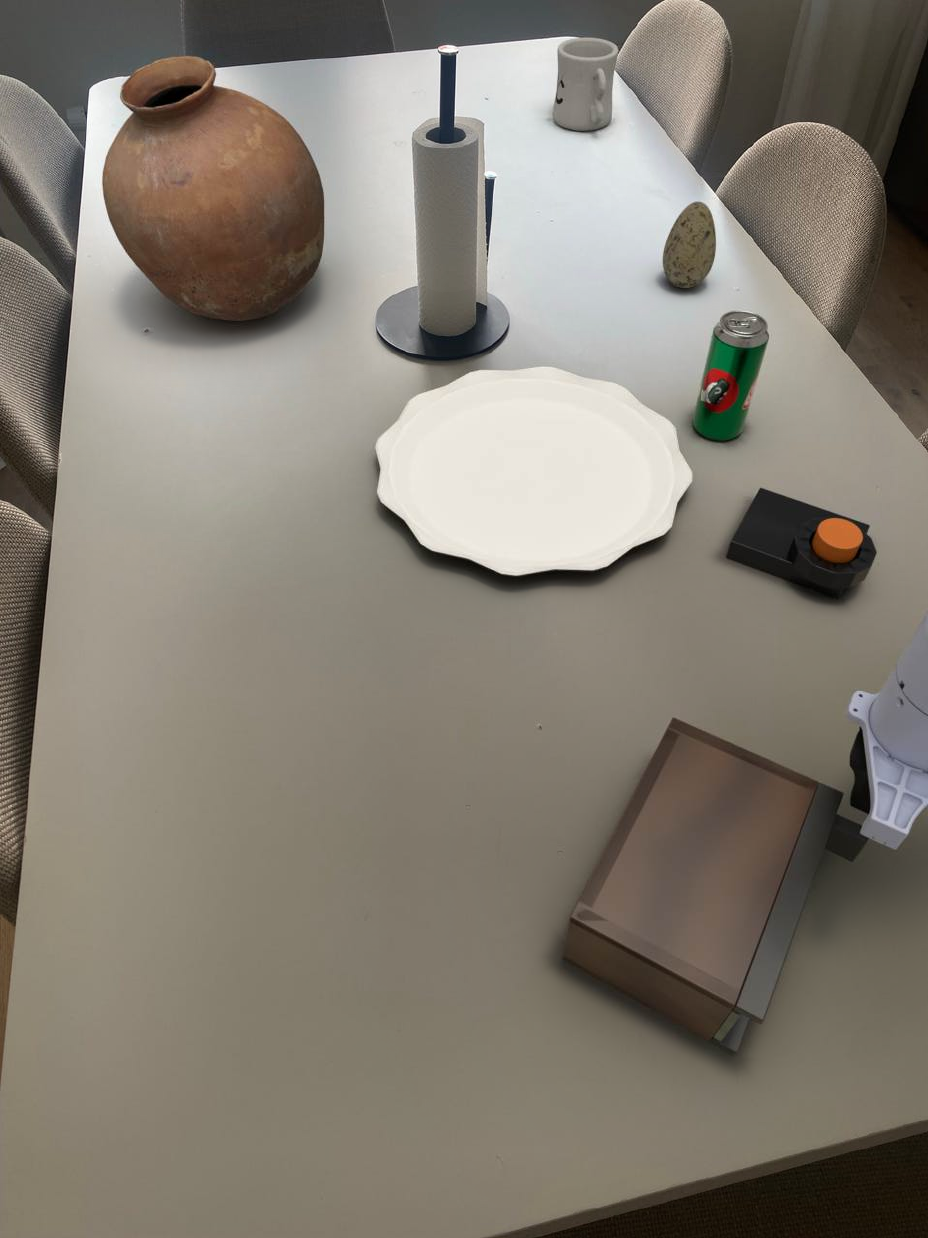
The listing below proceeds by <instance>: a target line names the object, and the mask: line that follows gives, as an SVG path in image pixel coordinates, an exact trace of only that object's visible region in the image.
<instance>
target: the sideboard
mask: <svg viewBox="0 0 928 1238" xmlns="http://www.w3.org/2000/svg"><path fill="white" fill-rule="evenodd" d="M844 795H845V794H844V792H843V791H840V790H838V789H836V788H833V787H832V786H830V785H827V784H825V783H823V782H819V781H818V780H816V779H814V778H812V777H809V776H808V775H805V774H802V773H800V772H798V771H796V770H793V769H791V768H789V767H787V766H785V765H782V764H780V763H779V762H776V761H773V760H771V759H769V758H767V757H765V756H762V755H760V754H757V753H755V752H754V751H753V752H752V751H750V750H748V749H746V748H744V747H742V746H739V745H737V744H735V743H733V742H730V741H729V740H725V739H724V738H721V737H719V736H717V735H714V734H713V733H710V732H708V731H706V730H703V729H701V728H699V727H696V726H694V725H692V724H690V723H687V722H685V721H683V720H681V719H678V718H676V717H671V720H670V722H669V724H668V726H667V728H666V730H665V732H664V733H663V736H662V737H661V739H660V741H659V743H658V745H657V747H656V749H655V750H654V753H653V755H652V757H651V759H650V760H649V762H648V764H647V766H646V769H644V771H643V774H642V776H641V778H640V780H639V781H638V783H637V785H636V788H635V789H634V791H633V794H632V795H631V797H630V799H629V801H628V803H627V805H626V808H625V809H624V811H623V813H622V815H621V817H620V819H619V821H618V822H617V824H616V826H615V828H614V830H613V832H612V834H611V836H610V838H609V840H608V842H607V843H606V846H605V848H604V850H603V852H602V854H601V855H600V857H599V859H598V861H597V863H596V864H595V867H594V869H593V871H592V872H591V875H590V876H589V879H588V880H587V883H586V885H585V887H584V888H583V890H582V892H581V894H580V896H579V897H578V899H577V902H576V904H575V905H574V908H573V910H572V911H571V914H570V915H569V919H568V924H567V930H566V934H565V939H564V944H563V949H562V952H561V953H562V954H561V956H560V958H561V960H562V961H564V962H566V963H568V964H570V965H572V966H573V967H575V968H577V969H578V970H580V971H582V972H583V973H586V974H587V975H589V976H591V977H593V978H595V979H597V980H598V981H600V982H602V983H604V984H606V985H607V986H609V987H611V988H613V989H615V990H616V991H618V992H620V993H622V994H623V995H625V996H627V997H629V998H631V999H632V1000H634V1001H636V1002H638V1003H639V1004H641V1005H643V1006H645V1007H647V1008H648V1009H650V1010H652V1011H654V1012H656V1013H658V1014H659V1015H661V1016H663V1017H664V1018H666V1019H668V1020H670V1021H671V1022H673V1023H675V1024H677V1025H679V1026H681V1027H682V1028H684V1029H686V1030H688V1031H690V1032H691V1033H693V1034H694V1035H697V1036H699V1037H700V1038H702V1039H704V1040H705V1041H708V1042H710V1043H711V1044H713V1045H715V1046H716V1047H719V1048H720V1049H722V1050H724V1051H726V1052H727V1053H729V1054H731V1055H733V1056H737V1055H738V1053H739V1051H740V1048H741V1045H742V1043H743V1040H744V1037H745V1034H746V1031H747V1029H748V1026H749V1023H750V1020H751V1021H752V1022H755V1023H757V1024H759V1025H761V1024H762V1023H763V1022H764V1021H765V1019H766V1016H767V1013H768V1010H769V1008H770V1004H771V1002H772V999H773V995H774V994H775V990H776V987H777V986H778V982H779V979H780V977H781V973H782V971H783V968H784V965H785V963H786V959H787V957H788V953H789V950H790V948H791V944H792V942H793V939H794V936H795V934H796V931H797V928H798V925H799V922H800V920H801V917H802V914H803V911H804V908H805V905H806V902H807V900H808V896H809V894H810V891H811V889H812V885H813V883H814V879H815V877H816V874H817V871H818V869H819V865H820V863H821V859H822V857H823V854H824V851H825V849H824V848H825V846H826V843H827V840H828V837H829V834H830V831H831V829H832V826H833V823H834V820H835V817H836V814H838V812H839V809H840V806H841V803H842V800H843V797H844Z"/></svg>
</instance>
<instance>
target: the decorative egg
mask: <svg viewBox="0 0 928 1238" xmlns="http://www.w3.org/2000/svg"><path fill="white" fill-rule="evenodd" d="M716 250H717V233H716V226H715V220H714V217H713V214H712V211H711V210H710V208H709V206H708V205H707V204H706V203H704V202H702V201H694V202H692V203H689V204H688V205H687V206H686V207H685V208H683V210H682V211H681V213H680V214H679V215H678V216H677V218H676V220H675V221H674V223H673V225H672V227H671V229H670V231H669V233H668V236H667V238H666V241H665V244H664V248H663V252H662V269H663V272H664V275H665V276H666V279H667V280H668V281H669V282H670V283H671V284H672V285H673V286H675V287H677V288H681V289H690V288H694V287H696V286H698V285H699V284H701V283H702V282H703V281H704V280H706V278H707V276H708V275H709V274H710V272H711V270H712V268H713V266H714V263H715V258H716V253H717V252H716Z"/></svg>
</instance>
